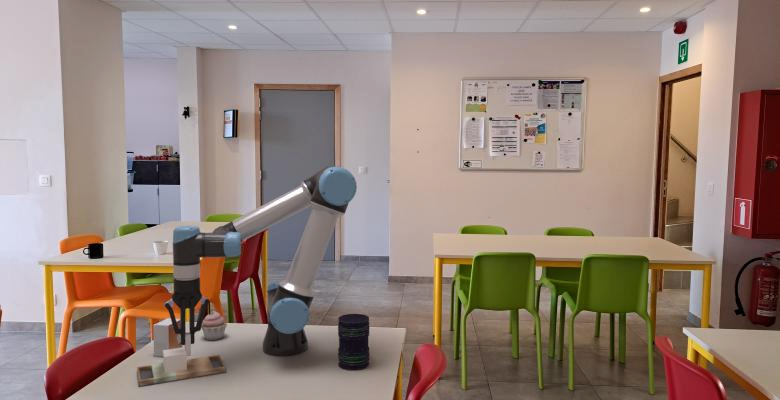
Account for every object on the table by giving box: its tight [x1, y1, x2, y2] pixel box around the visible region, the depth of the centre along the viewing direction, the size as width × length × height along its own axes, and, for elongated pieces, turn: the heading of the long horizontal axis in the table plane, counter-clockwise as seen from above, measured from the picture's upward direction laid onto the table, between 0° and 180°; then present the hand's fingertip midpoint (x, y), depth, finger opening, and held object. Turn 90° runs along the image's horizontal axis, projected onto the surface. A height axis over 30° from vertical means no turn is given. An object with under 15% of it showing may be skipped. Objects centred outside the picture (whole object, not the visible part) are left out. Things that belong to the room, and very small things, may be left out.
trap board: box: [136, 354, 227, 388], centre depth 165 cm, size 24×12×2 cm, turn 117°
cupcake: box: [201, 310, 228, 341], centre depth 197 cm, size 9×9×10 cm
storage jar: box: [337, 313, 370, 372], centre depth 171 cm, size 10×10×15 cm
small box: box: [152, 317, 183, 357], centre depth 181 cm, size 8×6×10 cm
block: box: [162, 346, 188, 373], centre depth 164 cm, size 6×6×5 cm
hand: (187, 354), depth 165 cm, fingers closed
